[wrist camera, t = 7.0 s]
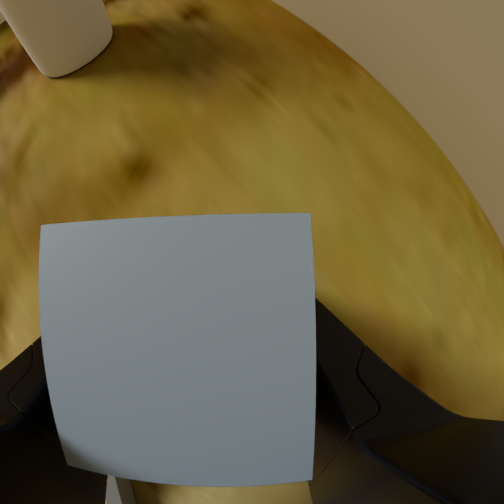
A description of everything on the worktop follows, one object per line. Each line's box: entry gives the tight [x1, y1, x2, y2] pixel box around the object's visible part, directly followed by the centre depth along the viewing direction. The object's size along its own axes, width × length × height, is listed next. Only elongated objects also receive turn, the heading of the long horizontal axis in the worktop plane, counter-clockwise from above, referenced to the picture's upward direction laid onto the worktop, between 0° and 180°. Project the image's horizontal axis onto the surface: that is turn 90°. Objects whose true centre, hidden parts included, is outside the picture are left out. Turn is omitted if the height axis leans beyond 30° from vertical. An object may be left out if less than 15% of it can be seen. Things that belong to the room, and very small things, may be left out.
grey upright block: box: [39, 213, 316, 487], centre depth 9 cm, size 6×9×11 cm
